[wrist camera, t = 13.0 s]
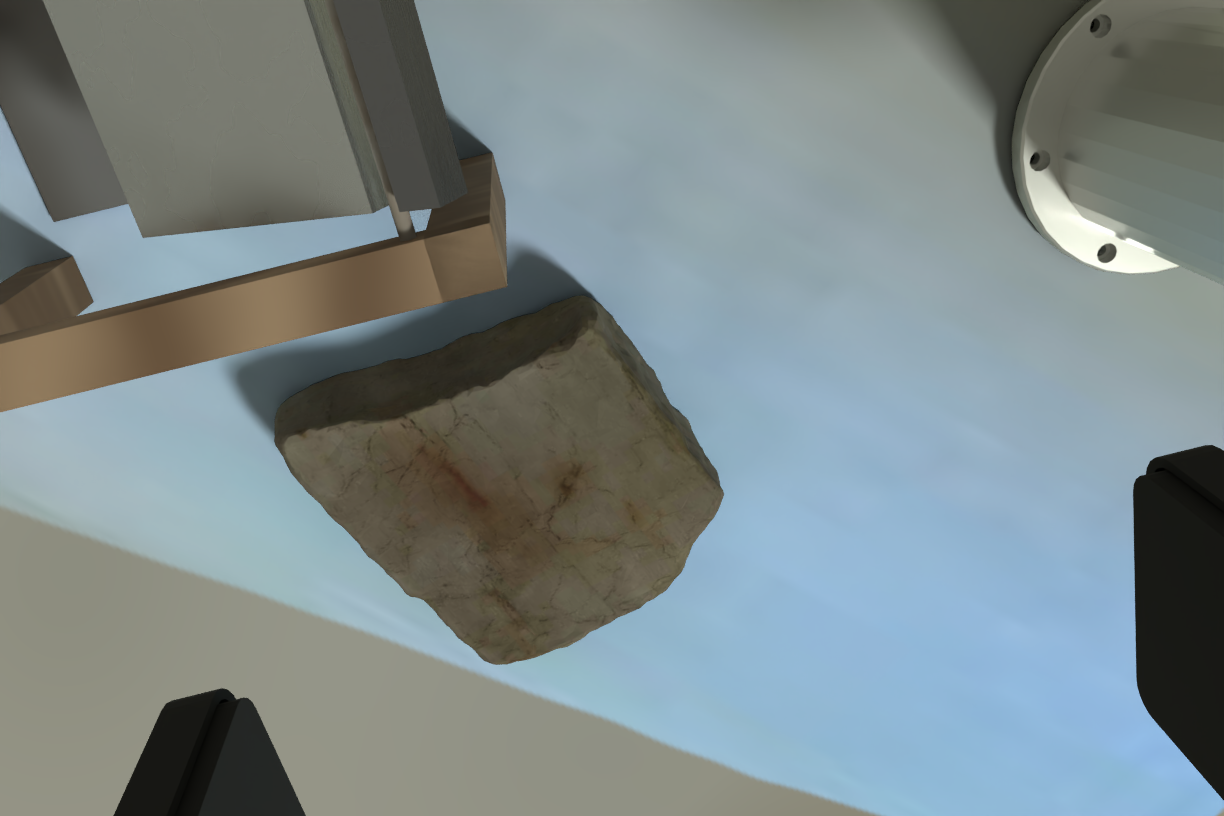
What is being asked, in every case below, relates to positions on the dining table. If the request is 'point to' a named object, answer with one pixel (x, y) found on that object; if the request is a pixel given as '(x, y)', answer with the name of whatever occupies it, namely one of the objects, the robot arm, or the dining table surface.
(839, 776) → the dining table surface
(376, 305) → the frame
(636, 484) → the marble piece
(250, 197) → the trapdoor plate
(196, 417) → the dining table surface
